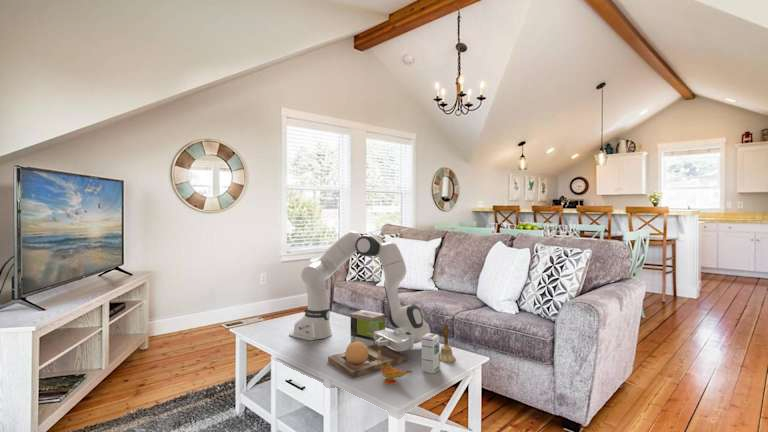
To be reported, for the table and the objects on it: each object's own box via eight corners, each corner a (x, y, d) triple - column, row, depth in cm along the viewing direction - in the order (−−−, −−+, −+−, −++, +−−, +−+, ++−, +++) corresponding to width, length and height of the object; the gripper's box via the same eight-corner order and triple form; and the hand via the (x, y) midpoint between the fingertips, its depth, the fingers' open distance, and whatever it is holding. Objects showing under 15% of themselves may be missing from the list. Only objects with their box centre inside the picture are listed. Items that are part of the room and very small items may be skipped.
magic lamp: (405, 393, 144) (405, 363, 144) (370, 378, 156) (370, 351, 156) (417, 386, 149) (417, 358, 149) (382, 373, 161) (382, 346, 161)
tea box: (385, 342, 197) (385, 313, 197) (373, 348, 189) (373, 318, 189) (362, 336, 206) (362, 308, 206) (349, 342, 198) (349, 313, 198)
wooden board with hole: (379, 348, 189) (379, 343, 189) (406, 361, 173) (406, 356, 173) (328, 362, 173) (328, 356, 173) (352, 378, 157) (352, 372, 156)
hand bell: (444, 364, 171) (444, 327, 170) (433, 357, 178) (433, 322, 178) (459, 360, 175) (459, 324, 174) (448, 354, 182) (448, 319, 182)
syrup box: (434, 374, 161) (434, 338, 160) (421, 370, 164) (421, 336, 163) (439, 369, 165) (440, 334, 165) (427, 366, 169) (427, 332, 168)
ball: (370, 340, 175) (366, 363, 174) (347, 337, 175) (344, 360, 174) (370, 346, 165) (366, 370, 164) (346, 342, 165) (343, 367, 164)
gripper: (387, 324, 192) (363, 330, 183) (415, 336, 175) (390, 342, 167) (387, 337, 192) (363, 343, 183) (415, 350, 175) (390, 357, 167)
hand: (376, 343), depth 175 cm, fingers closed
